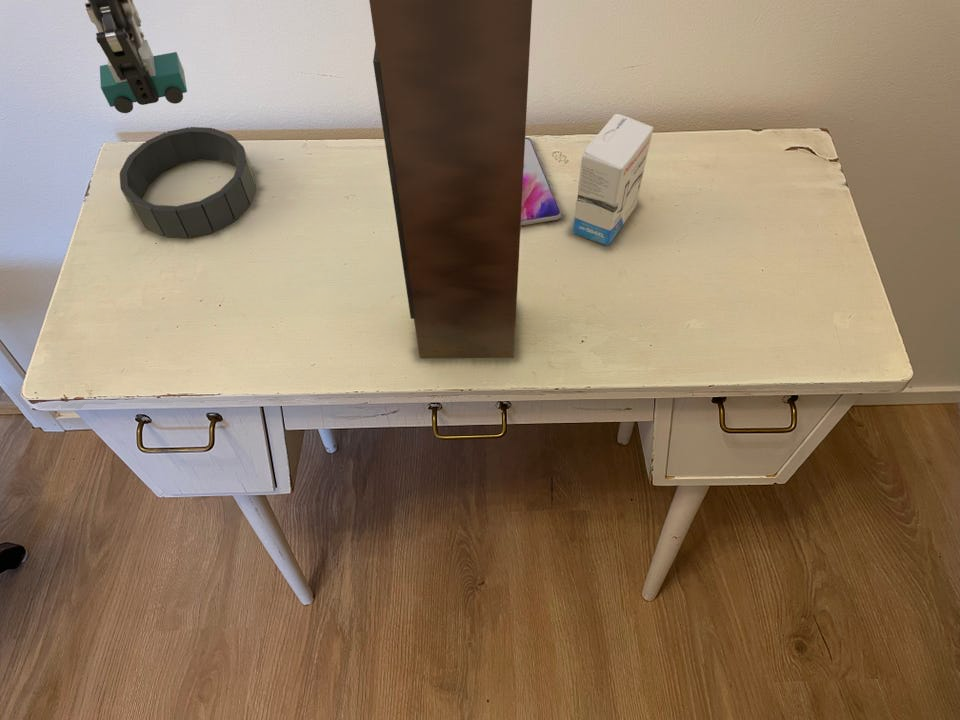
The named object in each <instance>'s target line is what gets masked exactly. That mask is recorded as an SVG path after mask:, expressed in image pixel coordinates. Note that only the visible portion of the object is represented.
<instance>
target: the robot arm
mask: <svg viewBox="0 0 960 720" xmlns="http://www.w3.org/2000/svg"><path fill="white" fill-rule="evenodd" d="M87 1H88V2H85V3H84V7H85V10H86V12H87V15H88V18H89V20H90V22H91V23H92V24H94V25H95V27H96V30H97V32H96V33H95V36H96V37H95V39H96V42H97V44H99V46H100V48H101V49H102V51H103V53H104V54H105V56H106V58H107V61H108V60H109V61H110V63H111V65H112V67H113V68H114V70H115V72H116V74H117V76H118V77H119V79H120V80H126V79H127V81H128V83H129V85H130V88H131V90H132V92H133V94H134V96H135V98H136V101H137V102H136V103H137V104H139V105H141V106H146V105H150V104H155V103H158V102H159V99H160V98H159V97H158V93H157V90H156V88H155V86H154V83H153V81H152V79H151V76H150V74H149V72H148V69H147V67H148V66H147V63H146V62H145V61H144V58H143V55H142V53H141V50H140V48H141V46H142V40H145V33H144V32H143V31H142V30H141V28H140V27H141V26H142V24H141V23H142V20H141V18H140V15H139V12H138V9H137V8H136V5H135V3H134V1H133V0H87Z"/></svg>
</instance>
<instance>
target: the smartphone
mask: <svg viewBox="0 0 960 720" xmlns="http://www.w3.org/2000/svg"><path fill="white" fill-rule="evenodd" d="M561 217H562V212H561V208H560V206H559V204H558V202H557V199H556V197H555V194H554V192H553V189H552V186H551V185H550V182H549V179H548V177H547V174H546V172H545V169H544V167H543V164H542V162H541V160H540V157H539V155H538V152H537V150H536V147H535V145H534V143H533V140H532V139H531V138H530V137H526V136H525V151H524V170H523V189H522V209H521V226H526V225H533V224H539V223H545V222H551V221H556V220H559V219H560V218H561Z"/></svg>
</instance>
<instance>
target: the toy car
mask: <svg viewBox="0 0 960 720" xmlns="http://www.w3.org/2000/svg"><path fill="white" fill-rule="evenodd" d="M140 50H141V53H142V55H143V58H144V61H145V62H146V63H147V66H148V67H147V69H148V72H149V74H150V76H151V79H152V81H153V83H154V86H155V88H156V90H157V93H158V97H159V99H160V98H165V100H166V101H167V102H168V103H170V104H173V105H174V104H175V105H177V104H180V103H181V102H182V101H183V99H184V94H185V93H187V92H188V88H187V81H186V76H185V70H184V67H183V65H182V62H181V60H180V57H179V54H178V52H177V51H174V52H168V53H162V54H158V55H154V54H153V51H152V49H151V47H150V44H149V42H148V39H144V40H142V46H141V48H140ZM99 79H100V81H99V82H100V83H99V84H100V89H101V91H102V93H103V95H104V98H105V100H106V101H107V103H108V105H109V107H110V108H113V107H114V109H115V110H116V111H117V112H119V113H120V114H129V113H131V112H132V111H133V110H134V103H137V101H136V98H135V96H134V94H133V92H132V90H131V88H130V85H129V83H128V81H127V79H126V80H120V79H119V77H118V76H117V74H116V72H115V70H114V68H113V67H112V65H111V63H110V61H109V60H108V59H107V64H102V65H99Z"/></svg>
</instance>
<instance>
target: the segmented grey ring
mask: <svg viewBox="0 0 960 720" xmlns="http://www.w3.org/2000/svg"><path fill="white" fill-rule="evenodd" d="M199 160H204V161H205V160H206V161H221V162H223V163H226V164H228V165H232V166H234V167H236V169H235V171H234V175H233V177H232V178H231V179H229V181H228V182H226V184H224V186H223V187H221V188H220V190H218V191H216V192H215V193H212V194H210V195H209V196H206V197H204V198H203V199H200V200H197V201H194V202H189V203H184V204H179V205H164V204H163V205H162V204H154V203H151V202H150V201H146V200H144V199H143V198H144V196H145V194H146V192H147V189H148V188H149V186H150V185H151V184H152V183H153V182H154V181H155V180H156V179H157V178H159V176H161V175H162V174H163V173H165V172H167V171H169V170H171V169H173V168H175V167H176V166H179V165H182V164H186V163H191V162H194V161H199ZM119 188H120V190H121V192H122V195H123V196H124V197H125V200H126V202H127V203H128V205H129V206H130V208H131V210H132V212H133V214H134V216H135V218H137V220H138V221H139V222H140V223H141V225H142V226H143V227H144V228H145V229H146V230H148V231H149V232H152V233H154V234H156V235H159V236H162V237H165V238H172V239H173V238H174V239H193V238H198V237H202V236H203V237H204V236H206V235H211V234H214V233H216V232H218V231H220V230H222V229H224V228H226V227H228V226H230V225H232V224H233V223H235V221H237V220H238V219H239V218H241V217H242V215H243V214H244V213H245V212H246V211H248V209H249V208H250V207H251V205H252V202H253V200H254V197H255V195H256V192H257V185H256V181H255V177H254V173H253V170H252V166H251V164H250V161H249V159H248V155H247V153H246V150H245V147H244V145H242V144H241V142H239V141H238V140H237V139H236V138H235V136H234V135H231V134H230V133H228V132H225V131H222V130H220V129H216V128H213V127H200V126H188V127H184V128H178V129H173V130H168V131H165V132H163V133H160V134H158V135H155V136H154V137H152V138H150V139H148V140H145V142H143V143H141V144H140V145H139V146H138V147H137V148H135V150H133V151H132V152H131V153H130V154H128V156H127V157H126V159H125V162H124V164H123V165H122V167H121V169H120V171H119Z"/></svg>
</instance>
